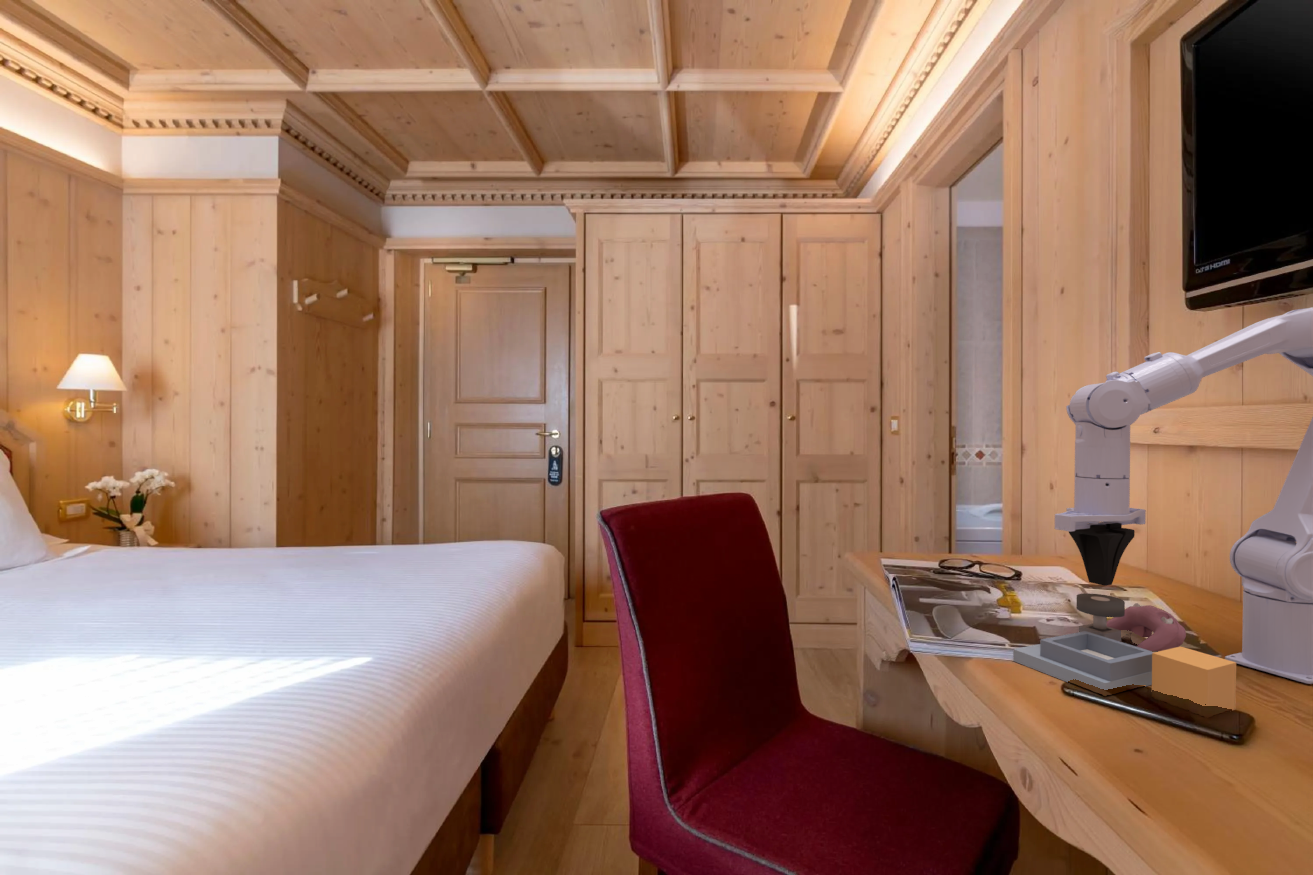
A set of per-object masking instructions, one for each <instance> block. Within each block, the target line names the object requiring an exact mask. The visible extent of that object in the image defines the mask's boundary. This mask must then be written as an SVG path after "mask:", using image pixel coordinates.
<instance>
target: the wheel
mask: <svg viewBox="0 0 1313 875" xmlns="http://www.w3.org/2000/svg"><path fill="white" fill-rule="evenodd" d="M1125 603H1126V601H1125V600H1123V599H1121V598H1119V597H1115V596H1112V595H1108V594H1107V595H1106V594H1098V593H1087V592H1086V593H1079V594H1077V595H1076V610H1077V611H1079V612H1082V613H1084V614H1087V615H1091V616H1093V617H1092V619H1093V622H1092V624H1093V627H1094V628H1097V629H1107V621H1108V620H1107V619H1108V618H1114V617H1123V616H1124V615H1125V609H1126V606H1125Z"/></svg>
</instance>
